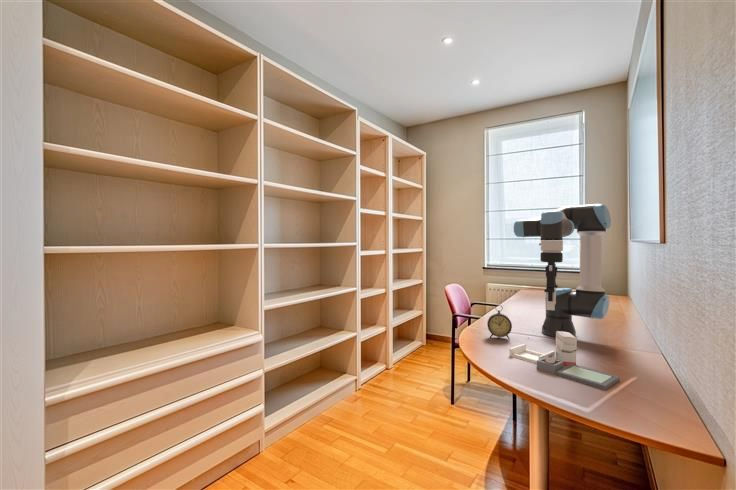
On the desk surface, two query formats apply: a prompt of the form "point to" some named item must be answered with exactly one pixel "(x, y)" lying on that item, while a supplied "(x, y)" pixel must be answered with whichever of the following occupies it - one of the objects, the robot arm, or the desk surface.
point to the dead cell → (550, 359)
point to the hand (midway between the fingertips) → (551, 306)
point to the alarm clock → (499, 324)
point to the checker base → (586, 381)
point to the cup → (549, 365)
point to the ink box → (566, 347)
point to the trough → (528, 354)
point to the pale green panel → (587, 374)
